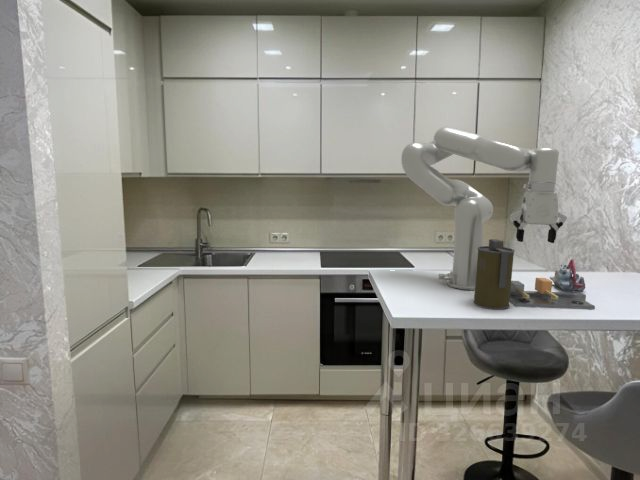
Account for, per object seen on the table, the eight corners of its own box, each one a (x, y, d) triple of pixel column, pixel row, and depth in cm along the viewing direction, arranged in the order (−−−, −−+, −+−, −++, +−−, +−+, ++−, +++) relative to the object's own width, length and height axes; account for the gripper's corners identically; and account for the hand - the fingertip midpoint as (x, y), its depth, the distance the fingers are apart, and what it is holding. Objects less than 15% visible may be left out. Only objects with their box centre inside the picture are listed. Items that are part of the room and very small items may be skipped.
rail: (508, 298, 138) (509, 292, 138) (506, 296, 140) (506, 290, 140) (585, 300, 136) (586, 294, 136) (581, 298, 139) (582, 292, 139)
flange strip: (516, 306, 129) (516, 302, 129) (508, 300, 135) (509, 297, 135) (594, 309, 128) (595, 305, 128) (583, 303, 134) (584, 299, 134)
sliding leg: (551, 302, 129) (553, 287, 128) (534, 292, 141) (535, 277, 140) (561, 303, 129) (563, 287, 128) (543, 292, 141) (545, 277, 140)
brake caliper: (597, 288, 143) (576, 259, 143) (566, 305, 146) (546, 276, 146) (585, 280, 154) (565, 253, 154) (556, 296, 157) (537, 269, 157)
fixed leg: (522, 301, 130) (523, 290, 129) (508, 291, 141) (508, 280, 141) (532, 302, 129) (533, 290, 129) (517, 291, 141) (518, 280, 141)
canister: (467, 299, 136) (472, 237, 133) (499, 299, 137) (504, 237, 133) (483, 310, 125) (488, 243, 122) (517, 310, 126) (523, 243, 123)
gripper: (517, 187, 130) (512, 242, 133) (575, 189, 130) (569, 244, 132) (508, 186, 138) (503, 239, 141) (563, 188, 137) (557, 240, 140)
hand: (535, 241), depth 136 cm, fingers open, 9 cm apart
